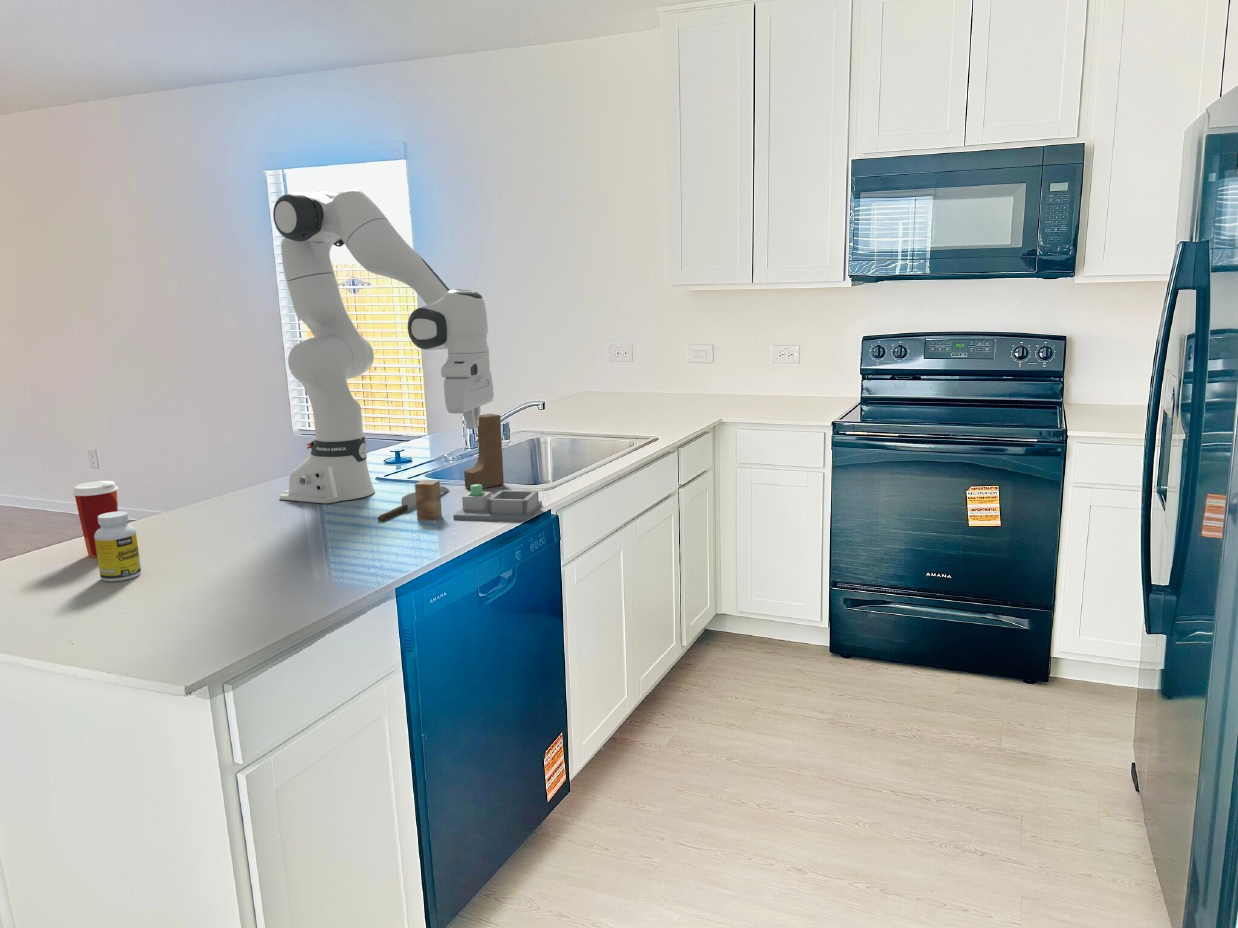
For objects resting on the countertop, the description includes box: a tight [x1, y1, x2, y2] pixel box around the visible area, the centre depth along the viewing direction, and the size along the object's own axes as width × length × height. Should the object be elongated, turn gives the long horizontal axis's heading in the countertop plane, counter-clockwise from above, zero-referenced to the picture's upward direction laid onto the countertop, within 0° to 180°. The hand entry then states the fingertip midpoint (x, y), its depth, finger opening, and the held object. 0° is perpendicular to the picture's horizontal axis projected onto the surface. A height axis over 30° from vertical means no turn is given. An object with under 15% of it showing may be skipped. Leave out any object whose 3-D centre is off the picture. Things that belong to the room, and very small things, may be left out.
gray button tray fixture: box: [452, 489, 543, 523], centre depth 196 cm, size 16×14×4 cm
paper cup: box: [72, 480, 119, 559], centre depth 170 cm, size 8×8×14 cm
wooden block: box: [463, 413, 505, 490], centre depth 219 cm, size 9×4×18 cm, turn 130°
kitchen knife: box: [377, 485, 450, 523], centre depth 204 cm, size 4×1×30 cm
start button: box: [470, 484, 484, 496], centre depth 196 cm, size 3×3×3 cm
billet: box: [414, 479, 443, 521], centre depth 192 cm, size 4×4×8 cm
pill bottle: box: [94, 510, 142, 583], centre depth 156 cm, size 6×6×12 cm
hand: (472, 428), depth 193 cm, fingers closed
